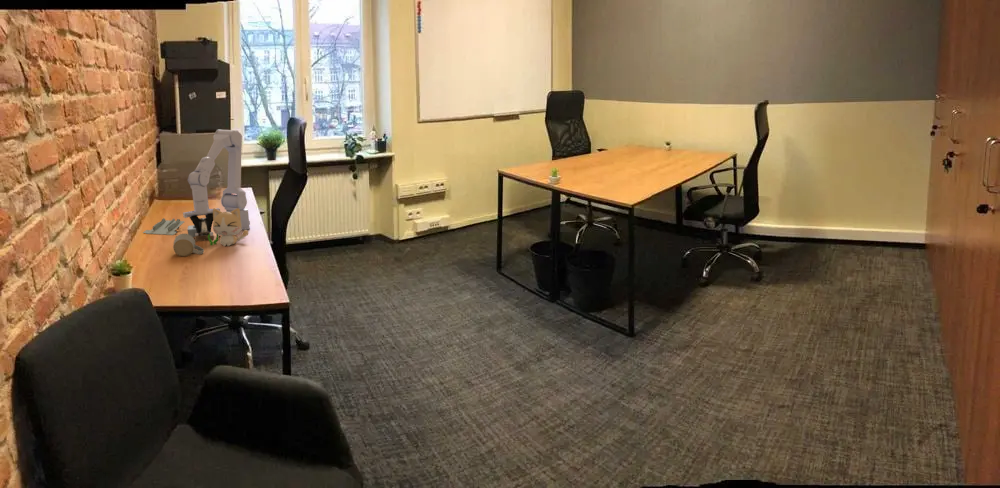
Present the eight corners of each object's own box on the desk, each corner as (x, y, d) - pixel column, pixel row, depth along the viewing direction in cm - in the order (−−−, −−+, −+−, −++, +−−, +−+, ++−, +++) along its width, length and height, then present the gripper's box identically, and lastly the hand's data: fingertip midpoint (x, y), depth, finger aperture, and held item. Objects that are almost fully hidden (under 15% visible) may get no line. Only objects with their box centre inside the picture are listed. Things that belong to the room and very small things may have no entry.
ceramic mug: (173, 258, 265) (171, 238, 264) (175, 252, 273) (173, 233, 271) (203, 256, 269) (202, 236, 267) (204, 251, 277) (202, 232, 275)
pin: (208, 237, 297) (207, 217, 295) (208, 239, 294) (206, 219, 292) (200, 238, 296) (198, 218, 294) (200, 240, 293) (198, 219, 291)
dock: (211, 231, 307) (210, 224, 306) (211, 235, 300) (210, 228, 299) (189, 233, 304) (188, 225, 303) (188, 237, 297) (187, 229, 296)
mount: (213, 236, 299) (213, 231, 299) (213, 239, 293) (212, 235, 293) (195, 237, 297) (195, 233, 297) (195, 241, 291) (194, 236, 290)
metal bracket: (158, 215, 314) (188, 216, 311) (162, 226, 317) (192, 228, 314) (139, 231, 302) (170, 232, 299) (143, 242, 305) (174, 244, 302)
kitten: (204, 247, 281) (201, 211, 277) (212, 241, 290) (209, 206, 287) (243, 247, 282) (239, 210, 278) (249, 241, 292) (246, 206, 288)
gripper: (214, 197, 299) (217, 227, 302) (179, 201, 289) (182, 232, 293) (220, 199, 293) (223, 230, 297) (185, 203, 284) (188, 235, 288)
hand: (203, 232), depth 294 cm, fingers open, 4 cm apart
